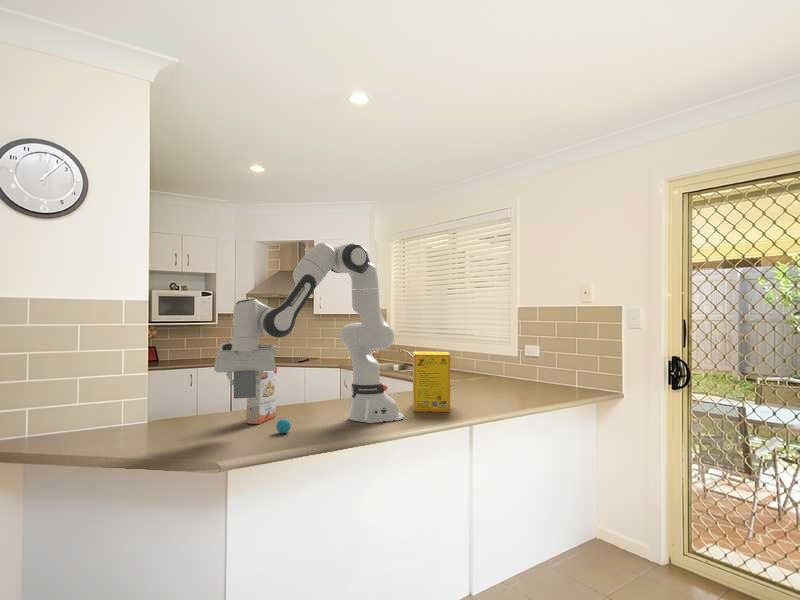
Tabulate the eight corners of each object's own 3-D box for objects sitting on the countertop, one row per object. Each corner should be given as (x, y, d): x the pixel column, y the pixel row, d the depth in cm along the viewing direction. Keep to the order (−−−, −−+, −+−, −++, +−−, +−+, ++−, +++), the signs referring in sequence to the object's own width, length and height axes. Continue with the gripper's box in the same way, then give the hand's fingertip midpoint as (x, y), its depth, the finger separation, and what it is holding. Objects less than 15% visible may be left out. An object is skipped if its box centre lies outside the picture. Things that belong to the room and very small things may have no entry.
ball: (292, 420, 170) (279, 415, 169) (293, 422, 165) (279, 418, 164) (287, 433, 170) (274, 429, 168) (287, 436, 165) (274, 432, 164)
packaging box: (413, 404, 222) (413, 351, 223) (447, 404, 222) (447, 351, 222) (412, 411, 206) (413, 354, 207) (450, 411, 205) (450, 354, 206)
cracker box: (260, 425, 179) (260, 370, 180) (245, 424, 180) (246, 369, 181) (276, 417, 193) (277, 366, 193) (263, 416, 194) (264, 365, 194)
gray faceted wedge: (256, 393, 169) (256, 369, 169) (255, 397, 162) (255, 371, 162) (235, 395, 167) (235, 370, 167) (233, 398, 160) (233, 372, 160)
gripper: (276, 343, 170) (275, 382, 170) (216, 344, 165) (215, 384, 165) (276, 345, 164) (276, 384, 164) (214, 346, 159) (213, 387, 159)
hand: (245, 384), depth 164 cm, fingers closed on gray faceted wedge, 7 cm apart
